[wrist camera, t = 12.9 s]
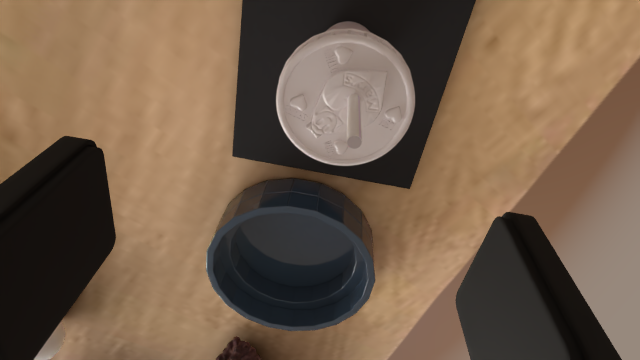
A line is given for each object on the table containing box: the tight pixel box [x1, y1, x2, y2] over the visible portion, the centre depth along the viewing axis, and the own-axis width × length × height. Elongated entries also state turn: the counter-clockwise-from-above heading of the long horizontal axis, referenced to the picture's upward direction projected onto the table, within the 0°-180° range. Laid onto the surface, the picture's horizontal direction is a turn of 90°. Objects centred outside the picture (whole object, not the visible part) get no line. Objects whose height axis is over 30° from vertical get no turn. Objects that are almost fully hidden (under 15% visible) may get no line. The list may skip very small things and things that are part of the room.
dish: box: [206, 178, 375, 331], centre depth 35 cm, size 14×14×4 cm
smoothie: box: [276, 21, 415, 166], centre depth 21 cm, size 6×6×14 cm
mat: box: [232, 0, 476, 189], centre depth 27 cm, size 19×14×1 cm
